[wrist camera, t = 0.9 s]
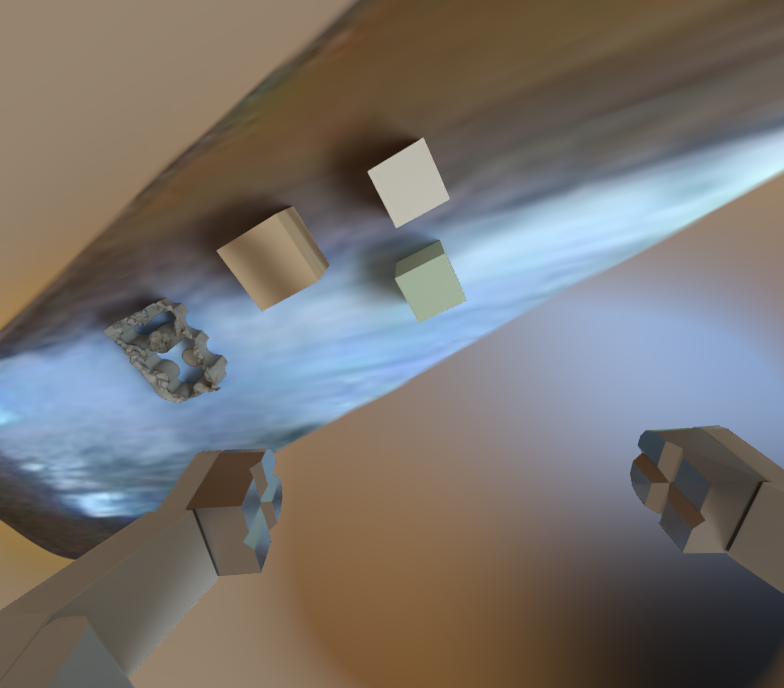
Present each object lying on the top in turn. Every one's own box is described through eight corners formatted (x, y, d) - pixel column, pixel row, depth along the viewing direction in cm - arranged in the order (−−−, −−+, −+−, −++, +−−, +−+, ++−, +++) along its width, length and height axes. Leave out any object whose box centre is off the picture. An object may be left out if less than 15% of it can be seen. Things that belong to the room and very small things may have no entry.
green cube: (439, 239, 33) (444, 253, 29) (459, 282, 35) (466, 300, 31) (396, 262, 34) (394, 278, 30) (417, 302, 36) (418, 323, 32)
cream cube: (421, 139, 30) (423, 137, 25) (443, 192, 31) (449, 199, 27) (373, 168, 31) (367, 171, 26) (397, 218, 32) (396, 228, 28)
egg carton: (239, 372, 41) (223, 393, 38) (185, 391, 43) (165, 414, 39) (180, 288, 37) (156, 304, 33) (122, 313, 38) (93, 330, 35)
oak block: (293, 205, 32) (275, 214, 28) (329, 264, 35) (318, 280, 30) (241, 237, 34) (216, 250, 29) (279, 292, 36) (261, 311, 32)
